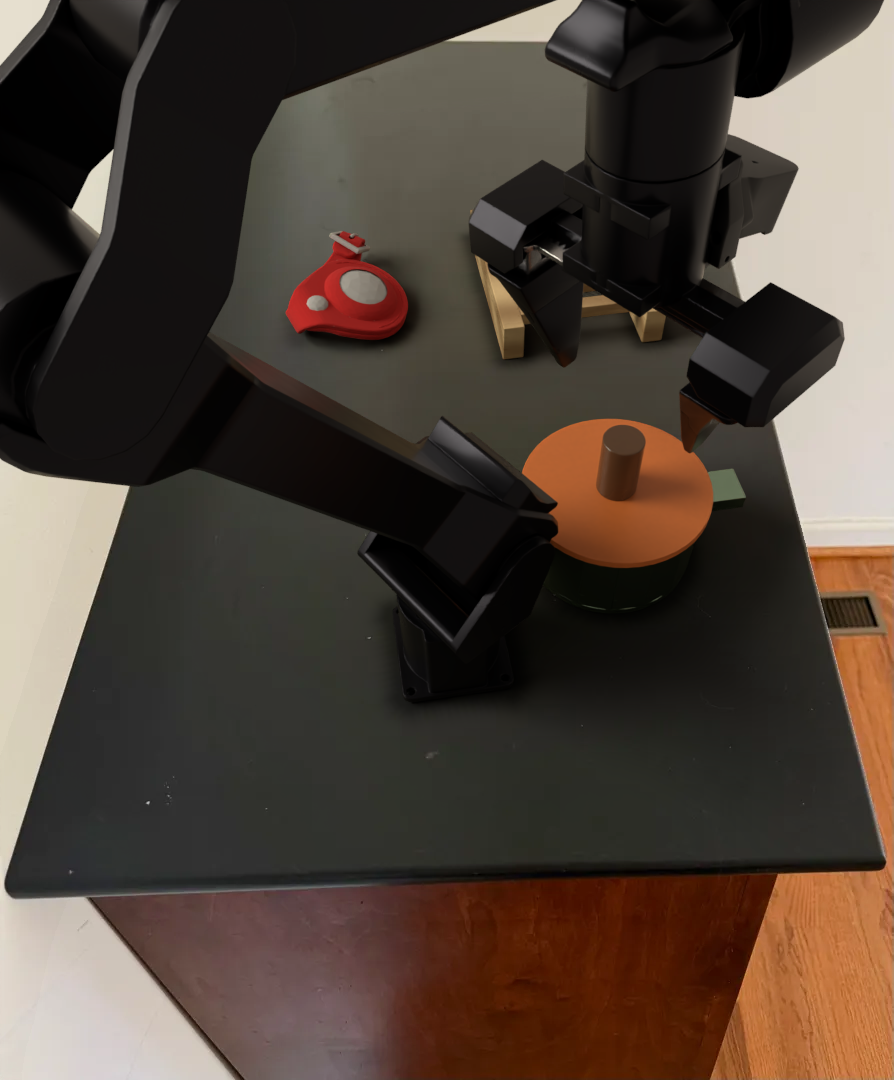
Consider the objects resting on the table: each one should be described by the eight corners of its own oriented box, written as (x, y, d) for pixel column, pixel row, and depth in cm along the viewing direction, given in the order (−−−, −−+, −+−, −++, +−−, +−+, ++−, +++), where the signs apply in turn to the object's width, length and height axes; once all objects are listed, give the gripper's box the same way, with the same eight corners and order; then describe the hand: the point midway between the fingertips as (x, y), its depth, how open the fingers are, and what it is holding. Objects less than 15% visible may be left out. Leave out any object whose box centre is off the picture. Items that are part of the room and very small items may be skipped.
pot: (750, 595, 56) (773, 541, 52) (499, 630, 55) (501, 578, 51) (698, 472, 63) (714, 414, 58) (472, 502, 62) (471, 446, 57)
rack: (661, 340, 71) (667, 309, 69) (503, 359, 70) (503, 329, 68) (610, 224, 81) (614, 193, 78) (470, 240, 80) (470, 209, 78)
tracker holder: (434, 311, 72) (324, 334, 67) (419, 350, 76) (313, 375, 71) (363, 209, 76) (254, 224, 72) (352, 251, 80) (247, 267, 75)
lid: (736, 560, 52) (757, 502, 48) (541, 587, 51) (545, 531, 47) (677, 420, 59) (691, 360, 55) (504, 442, 58) (506, 383, 54)
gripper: (975, 139, 36) (862, 411, 48) (618, -2, 45) (603, 259, 57) (798, 279, 32) (727, 532, 45) (449, 95, 41) (473, 350, 54)
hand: (627, 403), depth 50 cm, fingers open, 9 cm apart
